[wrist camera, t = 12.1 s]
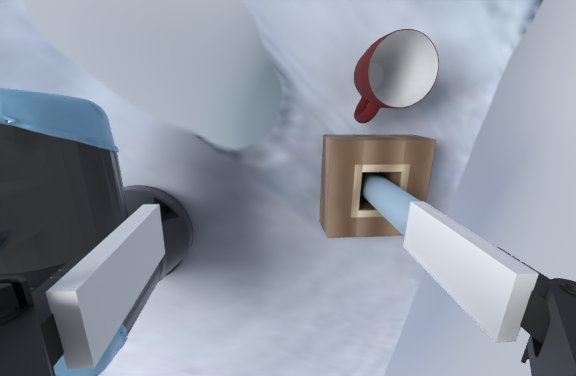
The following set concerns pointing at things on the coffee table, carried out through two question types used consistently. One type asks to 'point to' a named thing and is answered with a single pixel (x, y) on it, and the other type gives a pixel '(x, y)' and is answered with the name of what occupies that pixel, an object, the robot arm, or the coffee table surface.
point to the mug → (395, 72)
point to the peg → (387, 199)
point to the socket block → (348, 174)
